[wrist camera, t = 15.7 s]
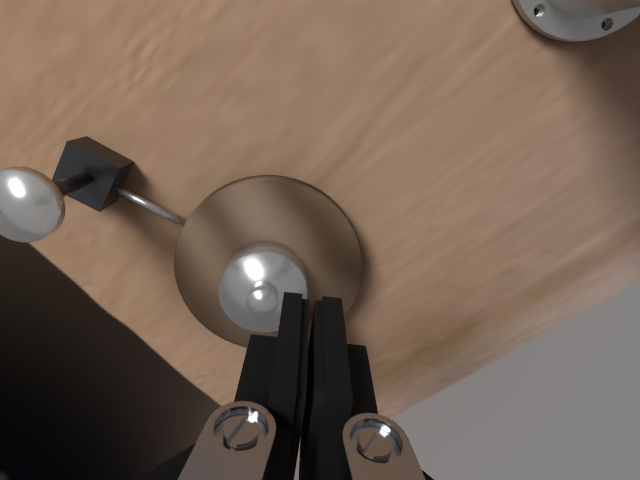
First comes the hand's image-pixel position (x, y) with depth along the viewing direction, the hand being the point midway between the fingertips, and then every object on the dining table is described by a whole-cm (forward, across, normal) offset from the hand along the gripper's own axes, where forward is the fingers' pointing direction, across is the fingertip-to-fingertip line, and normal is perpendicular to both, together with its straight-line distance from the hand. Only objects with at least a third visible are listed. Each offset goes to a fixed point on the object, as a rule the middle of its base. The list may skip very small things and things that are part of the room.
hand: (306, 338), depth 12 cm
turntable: (+23, +2, +9) cm, 25 cm away
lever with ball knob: (+24, +15, +4) cm, 29 cm away
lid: (+22, +3, +10) cm, 24 cm away
